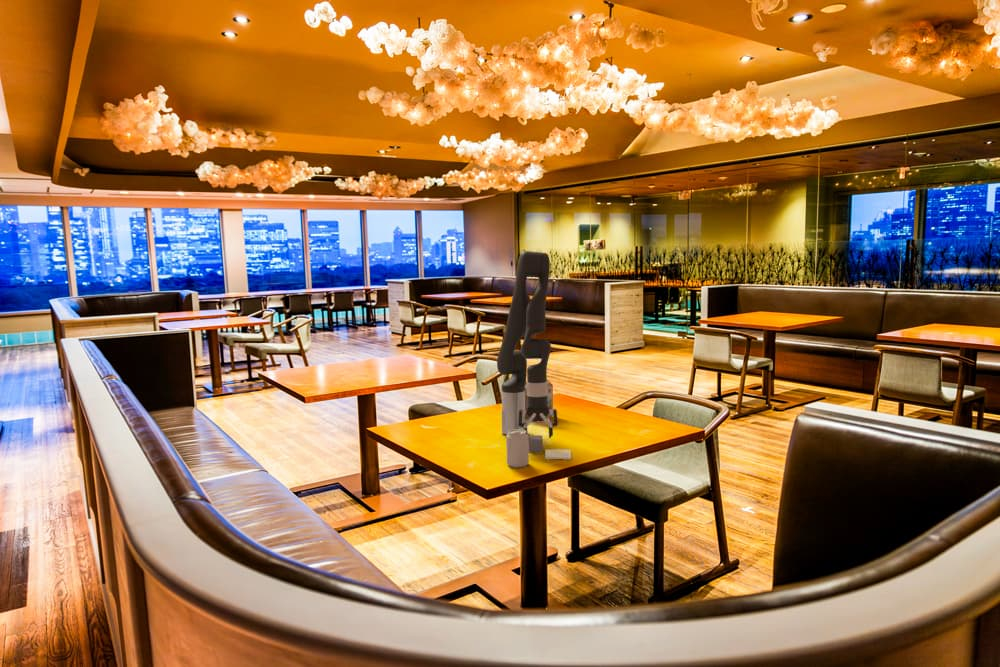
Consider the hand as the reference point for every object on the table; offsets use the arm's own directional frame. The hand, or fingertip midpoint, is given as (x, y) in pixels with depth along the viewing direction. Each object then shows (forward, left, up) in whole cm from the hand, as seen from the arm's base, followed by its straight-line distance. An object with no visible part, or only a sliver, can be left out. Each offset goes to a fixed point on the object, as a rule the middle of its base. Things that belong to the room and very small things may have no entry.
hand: (538, 437), depth 236 cm
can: (-7, -16, -5) cm, 18 cm away
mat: (+7, -6, -5) cm, 10 cm away
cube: (-1, 0, -5) cm, 5 cm away
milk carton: (-1, +46, -5) cm, 47 cm away
